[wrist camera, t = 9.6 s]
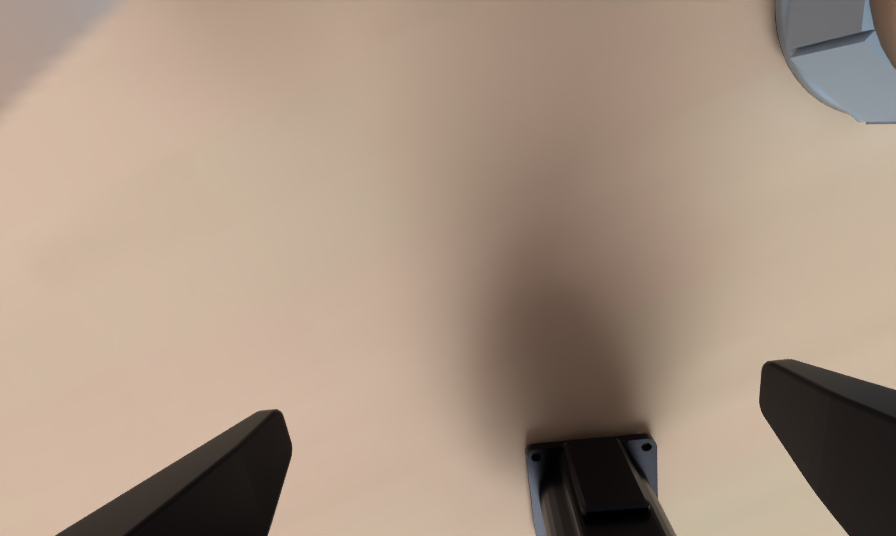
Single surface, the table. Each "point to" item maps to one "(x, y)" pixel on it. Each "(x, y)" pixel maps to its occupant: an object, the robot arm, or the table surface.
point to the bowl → (838, 56)
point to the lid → (885, 26)
